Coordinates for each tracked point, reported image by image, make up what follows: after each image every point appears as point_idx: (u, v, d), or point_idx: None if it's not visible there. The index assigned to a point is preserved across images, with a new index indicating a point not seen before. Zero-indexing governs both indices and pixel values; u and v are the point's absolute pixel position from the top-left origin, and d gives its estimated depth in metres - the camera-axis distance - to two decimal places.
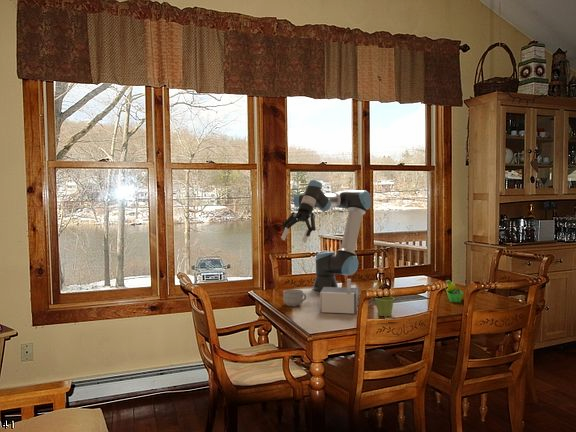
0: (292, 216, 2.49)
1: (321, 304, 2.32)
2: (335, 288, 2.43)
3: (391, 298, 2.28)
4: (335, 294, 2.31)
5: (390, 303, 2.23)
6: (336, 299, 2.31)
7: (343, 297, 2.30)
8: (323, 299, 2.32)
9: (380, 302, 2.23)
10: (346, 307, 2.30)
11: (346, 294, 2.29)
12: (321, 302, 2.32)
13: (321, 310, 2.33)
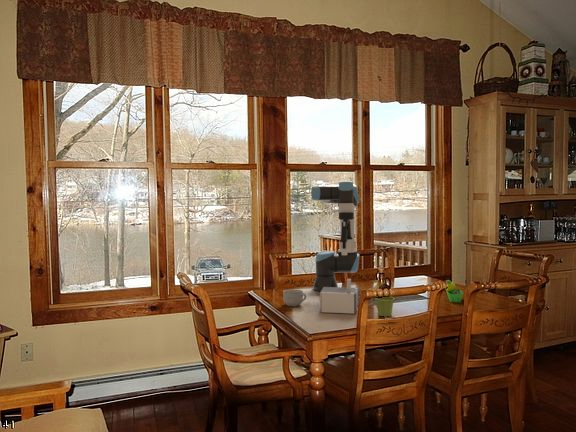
0: None
1: (321, 304, 2.32)
2: (335, 288, 2.43)
3: (391, 298, 2.28)
4: (335, 294, 2.31)
5: (390, 303, 2.23)
6: (336, 299, 2.31)
7: (343, 297, 2.30)
8: (323, 299, 2.32)
9: (380, 302, 2.23)
10: (346, 307, 2.30)
11: (346, 294, 2.29)
12: (321, 302, 2.32)
13: (321, 310, 2.33)
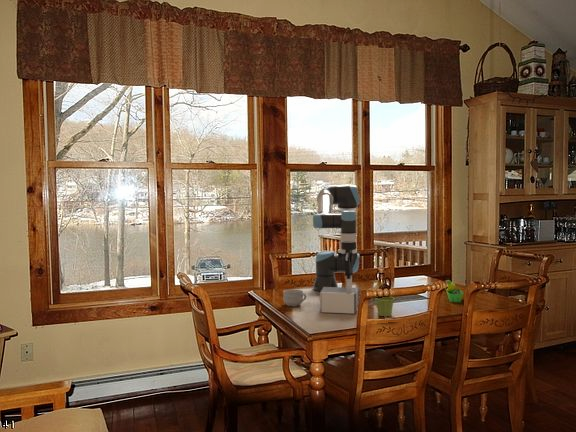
0: None
1: (321, 304, 2.32)
2: (335, 288, 2.43)
3: (391, 298, 2.28)
4: (335, 294, 2.31)
5: (390, 303, 2.23)
6: (336, 299, 2.31)
7: (343, 297, 2.30)
8: (323, 299, 2.32)
9: (380, 302, 2.23)
10: (346, 307, 2.30)
11: (346, 294, 2.29)
12: (321, 302, 2.32)
13: (321, 310, 2.33)
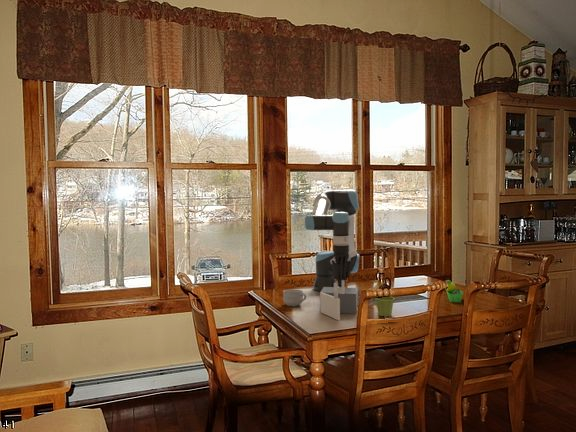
0: (335, 264, 2.18)
1: (320, 304, 2.32)
2: None
3: (391, 298, 2.28)
4: (327, 296, 2.26)
5: (390, 303, 2.23)
6: (328, 301, 2.25)
7: (332, 301, 2.22)
8: (321, 299, 2.31)
9: (380, 302, 2.23)
10: (333, 312, 2.21)
11: (333, 298, 2.21)
12: (320, 302, 2.32)
13: (320, 310, 2.33)
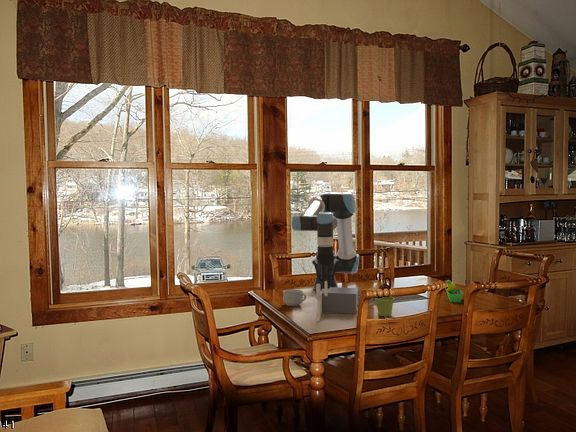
0: (316, 265, 2.17)
1: None
2: (335, 288, 2.43)
3: (391, 298, 2.28)
4: None
5: (390, 303, 2.23)
6: None
7: None
8: None
9: (380, 302, 2.23)
10: None
11: None
12: None
13: None
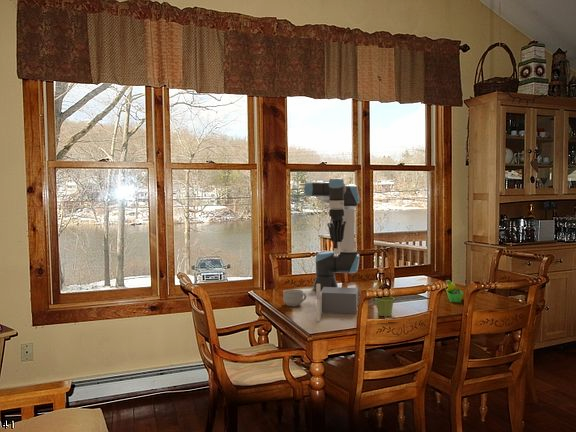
0: None
1: None
2: (335, 288, 2.43)
3: (391, 298, 2.28)
4: None
5: (390, 303, 2.23)
6: None
7: None
8: None
9: (380, 302, 2.23)
10: None
11: None
12: None
13: None
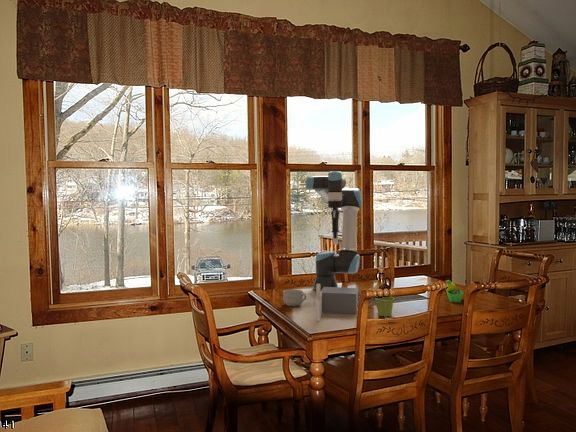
0: None
1: None
2: (335, 288, 2.43)
3: (391, 298, 2.28)
4: None
5: (390, 303, 2.23)
6: None
7: None
8: None
9: (380, 302, 2.23)
10: None
11: None
12: None
13: None
